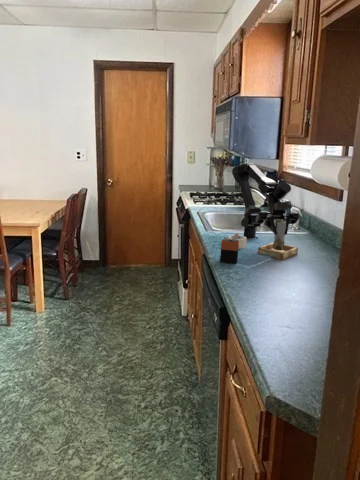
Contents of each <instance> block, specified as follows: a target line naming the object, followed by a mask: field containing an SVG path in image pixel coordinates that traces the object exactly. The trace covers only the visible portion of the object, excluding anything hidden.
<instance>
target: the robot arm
mask: <svg viewBox="0 0 360 480" xmlns="http://www.w3.org/2000/svg"><path fill="white" fill-rule="evenodd" d="M231 174H232V176H233V179H234V180H235V181H236V182H237V184H238V186H239V189H240V193H241V195H242V196H241V197H242V200H243V204H244V207H245V210H244V214H243V216H244V217H243V218H242V220H241V221H240V225H241V227H243V228H244V229H243V236H245V237H246V238H247V239H259V237H258V236H256V235H257V227H261V225H262V224H263V225H264V226H266V227H267V228H268V229H269V230H270V231H271V232H272V233H273V234H274V236H275V235H276V234H277V233H276V228H275V227H276V223H275V221H278V220H283V221H286V230H285V236H287V235H288V230H289V225H295V224H297V222H298V221H299V220H300V218H301V215H300V213H299V212H292V211H291V212H289V213H288V215H287V214H286V211H288V210H290V209H292V202H291V200H287V201H281V200H283V199H284V198H286V196H287V195H288V194H289V193H290V192H291V191H292V187H291V185H290V184H289V183H288V182H286V181H285V179H280V180H278V182H276V181H275V180H274V179H272V178H269V177H267V176H266V175H265V174H264V173H263V172H262V171H261V170H260V169H259V168H258V167H257V165H256V164H255V163H254V162H246V163H244V164H241V165H235V166H234V167H233V168H232V170H231ZM250 176H251V178H252V179H253V180H254V181H255V182H256V183H257V184H258V185H257V188H258V190H259V191H260V193H262V194H265V195H266V194H267V195H266V197H265V198H264V202H267V205H268V206H267V207H268V209H267V210H268V212H269V213H268V212H267V211H262V209H261V207H257V206H256V204H255V200H254V197H253V196H254V195H253V193H252V192H253V191H252V189H251V185H250V183H249V179H250ZM285 214H286V215H285Z"/></svg>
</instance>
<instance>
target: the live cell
mask: <svg viewBox="0 0 360 480" xmlns="http://www.w3.org/2000/svg"><path fill="white" fill-rule="evenodd" d="M275 228H276V233H277V234H276V235H275V234H274V235H273V236H274V237H273V243H274V245H273V249H274V250H283V247H284V245H285V239H286V238H285V236H286V235H285V230H286V221H283V220H275Z"/></svg>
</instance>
